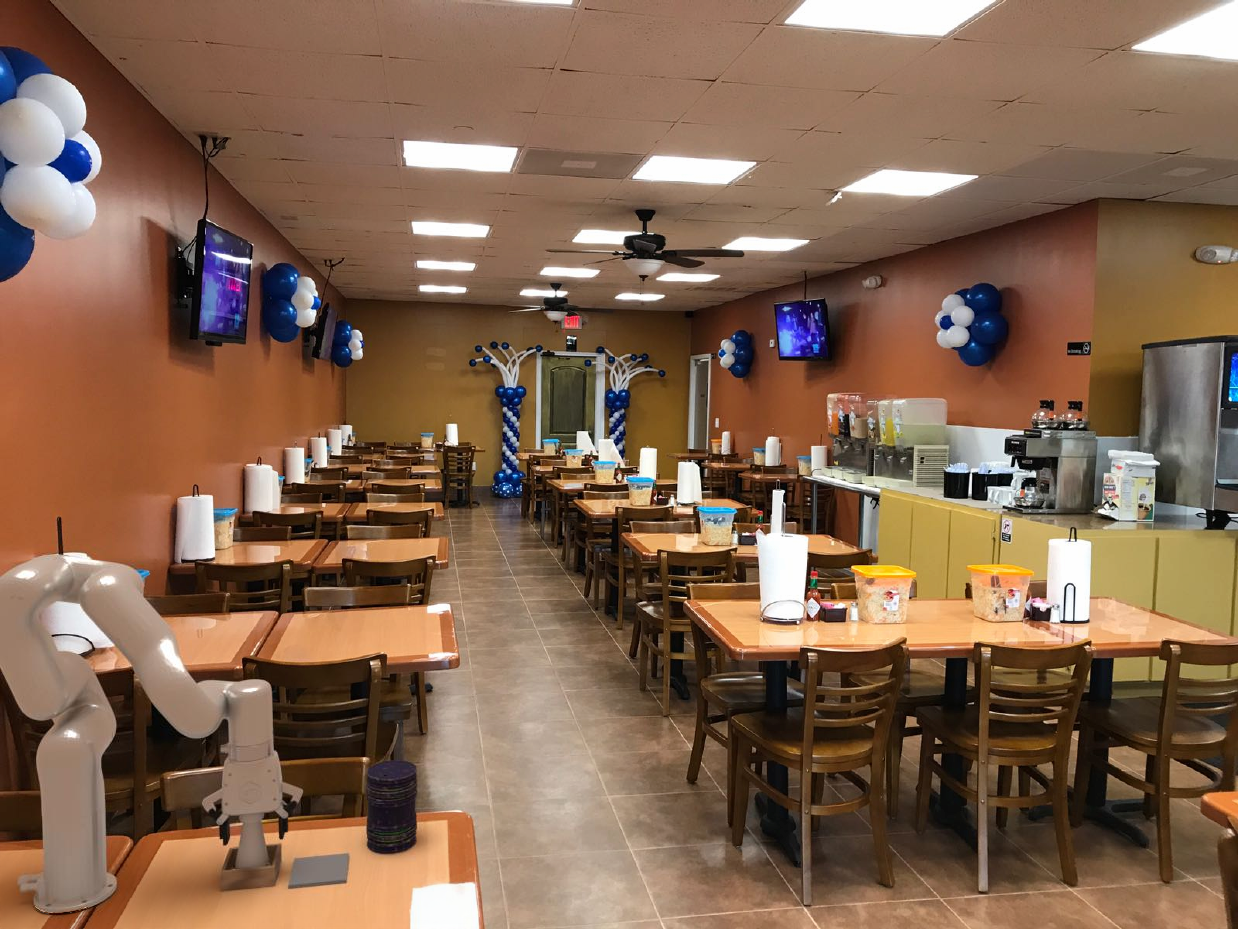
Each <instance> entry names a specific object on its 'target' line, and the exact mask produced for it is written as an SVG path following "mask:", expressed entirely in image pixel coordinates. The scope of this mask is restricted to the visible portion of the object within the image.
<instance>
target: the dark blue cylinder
mask: <svg viewBox="0 0 1238 929" xmlns="http://www.w3.org/2000/svg"><path fill="white" fill-rule="evenodd" d="M417 770H418V769H417V765H416V764H415V763H413V762H411V761H408V760H400V759H398V760H397V759H393V760H386V761H381V762H377V763H375V764H372V765H371V766H370V767H368V768H367V770H366V784H365V786H366V795H365V796H366V800H367V817H366V827H365V830H366V831H365V833H366V847H368V848H367V849H368V850H369V851H370V852H371V853H374V852H375V853H374V854H377V853H378V854H377V855H396V853H397V854H400V853H403V852H406V851H409V850H410V849H413V847H414V846H415V845H416V843H417V829H418V822H417V818H418V817H417V812H416V798H417V794H418V790H417V789H418V779H417V776H418V775H417Z"/></svg>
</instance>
